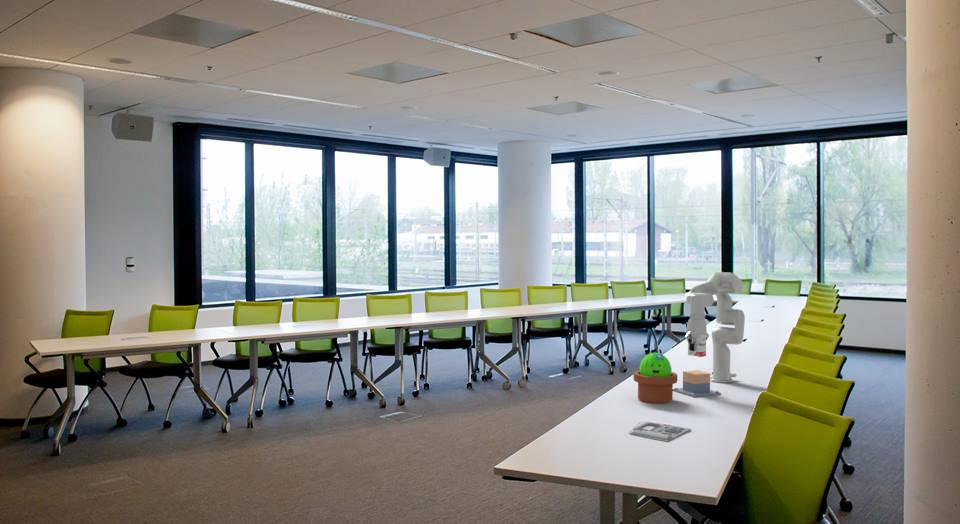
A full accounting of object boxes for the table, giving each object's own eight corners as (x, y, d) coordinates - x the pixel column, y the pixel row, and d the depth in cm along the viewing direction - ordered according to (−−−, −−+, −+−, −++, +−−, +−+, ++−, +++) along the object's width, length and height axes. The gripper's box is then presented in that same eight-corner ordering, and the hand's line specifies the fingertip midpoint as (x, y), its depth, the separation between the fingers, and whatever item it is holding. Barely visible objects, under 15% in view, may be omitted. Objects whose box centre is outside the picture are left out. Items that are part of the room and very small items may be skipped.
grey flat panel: (667, 437, 299) (623, 429, 311) (667, 444, 299) (623, 435, 311) (691, 425, 317) (648, 418, 329) (691, 431, 317) (648, 424, 329)
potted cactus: (633, 394, 390) (633, 347, 389) (675, 396, 386) (676, 349, 385) (633, 403, 369) (633, 354, 368) (678, 405, 364) (679, 355, 363)
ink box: (706, 356, 392) (706, 334, 392) (701, 357, 389) (701, 335, 389) (692, 354, 399) (693, 332, 398) (687, 355, 396) (687, 333, 395)
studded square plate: (698, 388, 406) (699, 368, 406) (721, 394, 390) (721, 374, 389) (672, 390, 399) (672, 370, 399) (693, 397, 383) (693, 376, 382)
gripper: (705, 315, 400) (705, 348, 400) (679, 317, 393) (679, 350, 394) (714, 317, 393) (714, 350, 394) (688, 318, 386) (688, 352, 387)
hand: (696, 350), depth 394 cm, fingers closed on ink box, 6 cm apart
